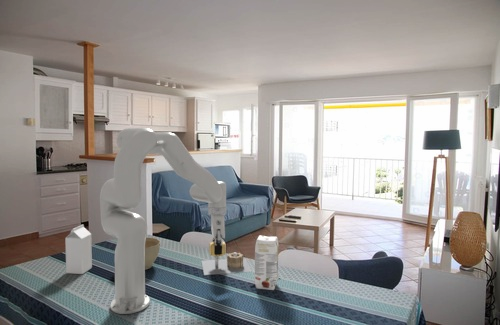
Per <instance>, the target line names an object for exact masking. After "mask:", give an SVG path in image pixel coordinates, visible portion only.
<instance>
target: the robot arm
mask: <svg viewBox="0 0 500 325" xmlns="http://www.w3.org/2000/svg"><path fill="white" fill-rule="evenodd" d="M115 141H116V144H117V146H118V148H119V150H118V152H117V154H116V156H115V158H114V163H113V178H110V179H108V180H106V181H105V182H104V184H103V185H102V186H101V189H100V194H99V204H100V205H99V207H100V208H99V209H100V222H101V223H100V224H101V228H102V229H103V232H105V234H106V235H108V236H111V237H113V238H116V239H117V242H116V243H117V244H116V246H115V250H114V257H113V258H114V292H115V293H114V299H112V301H111V302H110V306H109V308H110V310H111V311H112V313H116V314H119V315H128V314H129V315H130V314H134V313H138V312H141V311H143V310H144V309H146V308H148V306H149V305H150V304H151V299H150V296H148V295H147V294H146V270H145V240H146V237H147V234H148V224H147V221H146V220H145V218H144V217H143V216H142V215H140V214H139V213H136V212H132V211H129V210H133V209H136V208H138V207H139V206H140V204H141V202H142V200H143V186H142V166H143V162H144V160H145V158H147V156H148V155H158V156H162V157H163V158H164V159H165V161H166V162H167V163H168V165H169V166H170V167H171V169H173V171H174V173H175V174H176V175H177V176H179V177H181V178H182V179H184V180H186V181H189V182H191V183H192V185H191V186H190V189H189V196H190V197H191V198H192V199H193V200H195V201H197V202H204V203H208V204H207V206H208V207H207V208H208V215H209V216H210V224H211V225H210V226H211V228H210V229H211V234H212V242H213V241H215V245H214V254H215V255H222V242H223V241H222V238H223V239H225V238H226V225H225V215H227V184H226V182H225V181H220V180H219V181H218V180H217V179H216V178H215V176H214V175H213V173H211V172H210V171H209V170H208V169H207V168H205V167H204V166H203V165H201V164H200V163H199V162H197V161H196V160H195V159H194V158H193V156H192V154H191V153H190V151H189V150H188V149H187V148H186V146H185V145H184V143H183V142H182V140H181V139H180V137H179V136H178V135H177V134H175V133H172V132H170V131H169V132H165V131H164V132H161V131H160V132H159V131H156V132H155V131H154V130H152V129H150V128H146V127H135V128H134V127H133V128H132V127H131V128H124V129H122V130H120V131H119V132H118V134H117V136H116V140H115ZM222 256H223V255H222Z"/></svg>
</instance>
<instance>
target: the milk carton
mask: <svg viewBox="0 0 500 325" xmlns="http://www.w3.org/2000/svg"><path fill="white" fill-rule="evenodd" d="M64 244H65V273H66V274H77V275H83V274H85V273H86V272H88V271H89V270H91V269H92V268H93V259H92V258H93V257H92V256H93V255H92V254H93V252H92V233H91V232H90V231H89V230H88V229H87V228H85V225H84V224H80V225H78V226H76V227H74V228H72V230H70V233H69V234H68V235H67V236H66V237H65V243H64Z"/></svg>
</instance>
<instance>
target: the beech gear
mask: <svg viewBox="0 0 500 325" xmlns="http://www.w3.org/2000/svg"><path fill="white" fill-rule="evenodd" d="M236 253H237V257H234V252H231V253H227V254H226V255H227V256H226V259H227V266H229V267H230V268H239V267H242V265H243V258H244V254H242V253H241V252H236Z"/></svg>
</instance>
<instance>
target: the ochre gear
mask: <svg viewBox="0 0 500 325" xmlns="http://www.w3.org/2000/svg"><path fill="white" fill-rule="evenodd" d="M208 245H209V246H208V248H209V255H210V256H213V257H214V258H215V257H216V256H219V257H223V256H224V255H227V254H226V252H227V251H226V242H225V241H222V255H215V254H214V245H215V241H213V240H212V242H209V244H208Z"/></svg>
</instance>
